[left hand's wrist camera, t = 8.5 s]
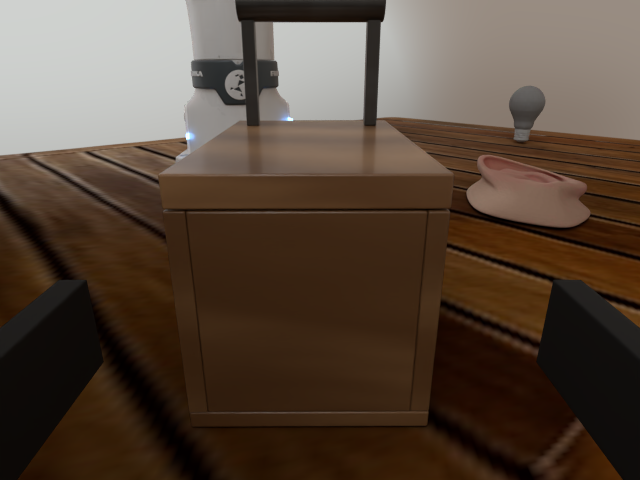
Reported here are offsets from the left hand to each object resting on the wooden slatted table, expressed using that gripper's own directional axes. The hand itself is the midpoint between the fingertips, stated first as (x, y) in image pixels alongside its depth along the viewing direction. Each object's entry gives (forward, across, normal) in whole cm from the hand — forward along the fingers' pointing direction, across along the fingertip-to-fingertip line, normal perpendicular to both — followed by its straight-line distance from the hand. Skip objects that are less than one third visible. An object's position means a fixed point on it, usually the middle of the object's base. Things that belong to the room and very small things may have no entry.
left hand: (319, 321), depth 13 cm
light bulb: (+74, +38, -6) cm, 84 cm away
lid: (+11, 0, +2) cm, 11 cm away
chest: (+10, 0, -6) cm, 12 cm away
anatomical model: (+33, +21, -6) cm, 39 cm away
